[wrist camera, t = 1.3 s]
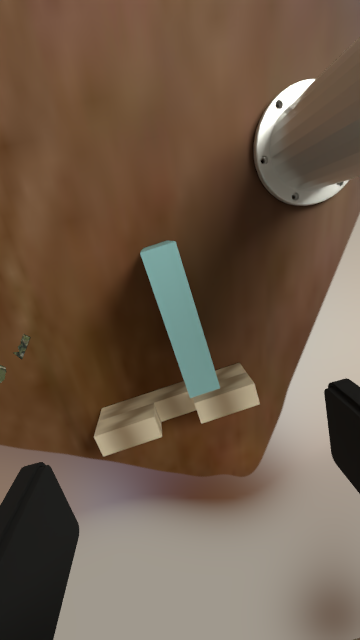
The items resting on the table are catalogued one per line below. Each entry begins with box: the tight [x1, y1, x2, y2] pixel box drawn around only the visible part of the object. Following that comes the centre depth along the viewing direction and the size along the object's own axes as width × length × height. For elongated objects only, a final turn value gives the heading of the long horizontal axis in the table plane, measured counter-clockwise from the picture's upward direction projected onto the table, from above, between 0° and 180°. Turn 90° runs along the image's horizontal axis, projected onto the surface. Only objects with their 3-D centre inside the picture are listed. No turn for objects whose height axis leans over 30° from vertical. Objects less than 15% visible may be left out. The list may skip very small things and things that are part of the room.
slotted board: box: [94, 363, 260, 457], centre depth 38 cm, size 20×3×6 cm, turn 108°
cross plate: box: [140, 241, 220, 398], centre depth 31 cm, size 14×3×12 cm, turn 18°
